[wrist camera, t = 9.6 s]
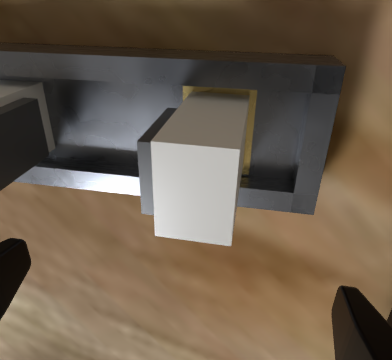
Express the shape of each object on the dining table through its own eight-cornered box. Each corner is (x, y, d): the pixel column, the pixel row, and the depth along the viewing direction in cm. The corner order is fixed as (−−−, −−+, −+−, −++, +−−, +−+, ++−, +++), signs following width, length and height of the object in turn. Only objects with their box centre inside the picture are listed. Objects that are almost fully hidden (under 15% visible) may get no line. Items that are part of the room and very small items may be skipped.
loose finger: (249, 95, 17) (239, 149, 11) (242, 166, 19) (230, 246, 13) (176, 90, 17) (128, 139, 11) (176, 159, 19) (135, 233, 13)
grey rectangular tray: (333, 55, 17) (345, 66, 14) (307, 187, 20) (313, 214, 18) (-34, 41, 20) (-78, 47, 17) (0, 156, 24) (-33, 176, 21)
